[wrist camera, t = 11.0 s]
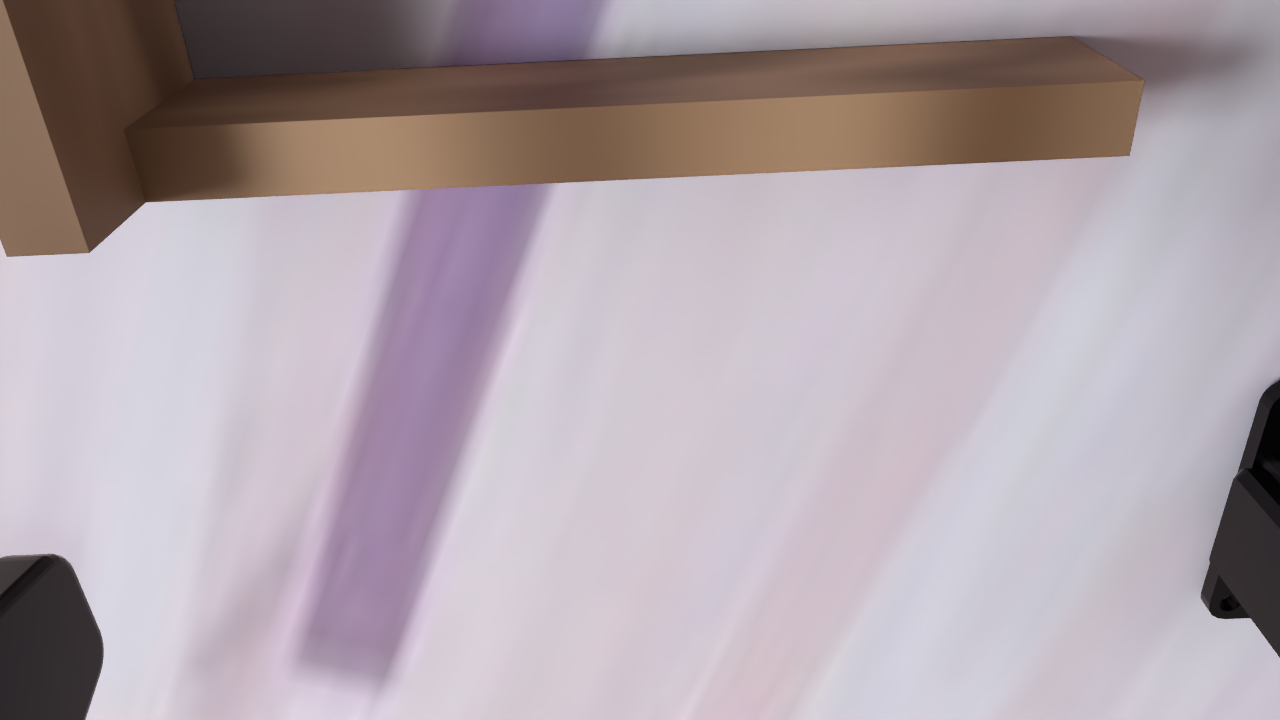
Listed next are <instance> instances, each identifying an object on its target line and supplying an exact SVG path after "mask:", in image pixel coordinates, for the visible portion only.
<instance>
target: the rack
mask: <svg viewBox="0 0 1280 720" xmlns="http://www.w3.org/2000/svg"><path fill="white" fill-rule="evenodd" d="M1144 81H1145V80H1143V79H1142V78H1140V77H1138V76H1136V75H1135V74H1133V73H1131V72H1130V71H1128V70H1126V69H1125V68H1123V67H1121V66H1120V65H1118V64H1116V63H1115V62H1113V61H1111V60H1110V59H1108V58H1106V57H1105V56H1103V55H1101V54H1100V53H1098V52H1096V51H1095V50H1093V49H1091V48H1090V47H1088V46H1086V45H1085V44H1083V43H1081V42H1080V41H1078V40H1076V39H1075V38H1073V37H1071V36H1068V37H1048V38H1027V39H1007V40H986V41H966V42H945V43H925V44H904V45H884V46H863V47H843V48H822V49H802V50H781V51H761V52H740V53H720V54H699V55H679V56H658V57H638V58H617V59H597V60H576V61H556V62H535V63H515V64H494V65H474V66H453V67H433V68H412V69H392V70H371V71H351V72H330V73H310V74H289V75H269V76H248V77H228V78H207V79H194V76H193V72H192V69H191V65H190V61H189V57H188V53H187V50H186V46H185V42H184V38H183V34H182V30H181V27H180V23H179V19H178V15H177V11H176V8H175V4H174V0H0V240H1V242H2V245H3V248H4V250H5V253H6V255H7V257H12V256H33V255H55V254H76V253H90V252H91V251H92V250H93V249H94V248H95V247H96V246H98V245H99V244H100V243H101V242H102V241H103V240H104V239H105V238H106V237H108V236H109V235H110V234H111V233H112V232H113V231H114V230H115V229H116V228H118V227H119V226H120V225H121V224H122V223H123V222H124V221H125V220H127V219H128V218H129V217H130V216H131V215H132V214H133V213H134V212H135V211H137V210H138V209H139V208H140V207H141V206H142V205H143V204H144V203H145V202H162V201H183V200H204V199H225V198H246V197H267V196H289V195H310V194H331V193H352V192H373V191H394V190H416V189H437V188H458V187H479V186H500V185H521V184H543V183H564V182H585V181H606V180H627V179H649V178H670V177H691V176H712V175H733V174H754V173H776V172H797V171H818V170H839V169H860V168H881V167H903V166H924V165H945V164H966V163H987V162H1009V161H1030V160H1051V159H1072V158H1093V157H1114V156H1130V151H1131V146H1132V141H1133V136H1134V131H1135V126H1136V121H1137V116H1138V111H1139V106H1140V101H1141V96H1142V91H1143V86H1144Z"/></svg>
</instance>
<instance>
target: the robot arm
mask: <svg viewBox="0 0 1280 720" xmlns="http://www.w3.org/2000/svg"><path fill="white" fill-rule="evenodd" d="M1209 560H1210V565H1209V569H1208V572H1207V575H1206V578H1205V582H1204V585H1203V588H1202V592H1201V599H1202V601H1203V603H1204V604H1205V606H1206V607H1207V608H1208V610H1209V611H1210V613H1211V614H1212V615H1213V616H1215V617H1217V618H1222V619H1234V618H1251V619H1252V620H1253V622H1254V623H1255V624H1256V626H1257V627H1258V629H1259V630H1260V631H1261V633H1262V634H1263V635H1264V637H1265V638H1266V639H1267V641H1268V642H1269V643H1270V645H1271V646H1272V648H1273V649H1274V650H1275V652H1276V653H1277V654H1278V656H1279V657H1280V381H1279V382H1277V383H1275V384H1274V385H1272V386H1270V387H1269V388H1268V389H1267V390H1266V391H1265V392H1264V393H1263V395H1262V397H1261V399H1260V401H1259V404H1258V407H1257V411H1256V414H1255V417H1254V421H1253V424H1252V427H1251V430H1250V434H1249V437H1248V440H1247V444H1246V447H1245V450H1244V453H1243V457H1242V460H1241V463H1240V467H1239V470H1238V473H1237V475H1236V476H1235V478H1234V479H1233V482H1232V485H1231V489H1230V492H1229V495H1228V499H1227V502H1226V505H1225V509H1224V512H1223V515H1222V518H1221V522H1220V525H1219V528H1218V532H1217V535H1216V538H1215V542H1214V545H1213V548H1212V551H1211V555H1210V559H1209ZM1227 596H1228V597H1227ZM1226 597H1227V598H1226ZM1224 598H1225V599H1224ZM102 664H103V641H102V636H101V633H100V630H99V628H98V625H97V623H96V621H95V618H94V616H93V614H92V611H91V609H90V606H89V604H88V602H87V599H86V597H85V595H84V592H83V590H82V588H81V585H80V583H79V580H78V578H77V576H76V573H75V571H74V569H73V567H72V566H71V564H70V563H69V562H68V561H67V560H66V559H65V558H63V557H62V556H58V555H55V554H37V555H13V556H6V557H2V558H0V720H85V719H86V716H87V713H88V710H89V707H90V704H91V701H92V697H93V694H94V691H95V688H96V685H97V682H98V679H99V676H100V673H101V669H102Z"/></svg>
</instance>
